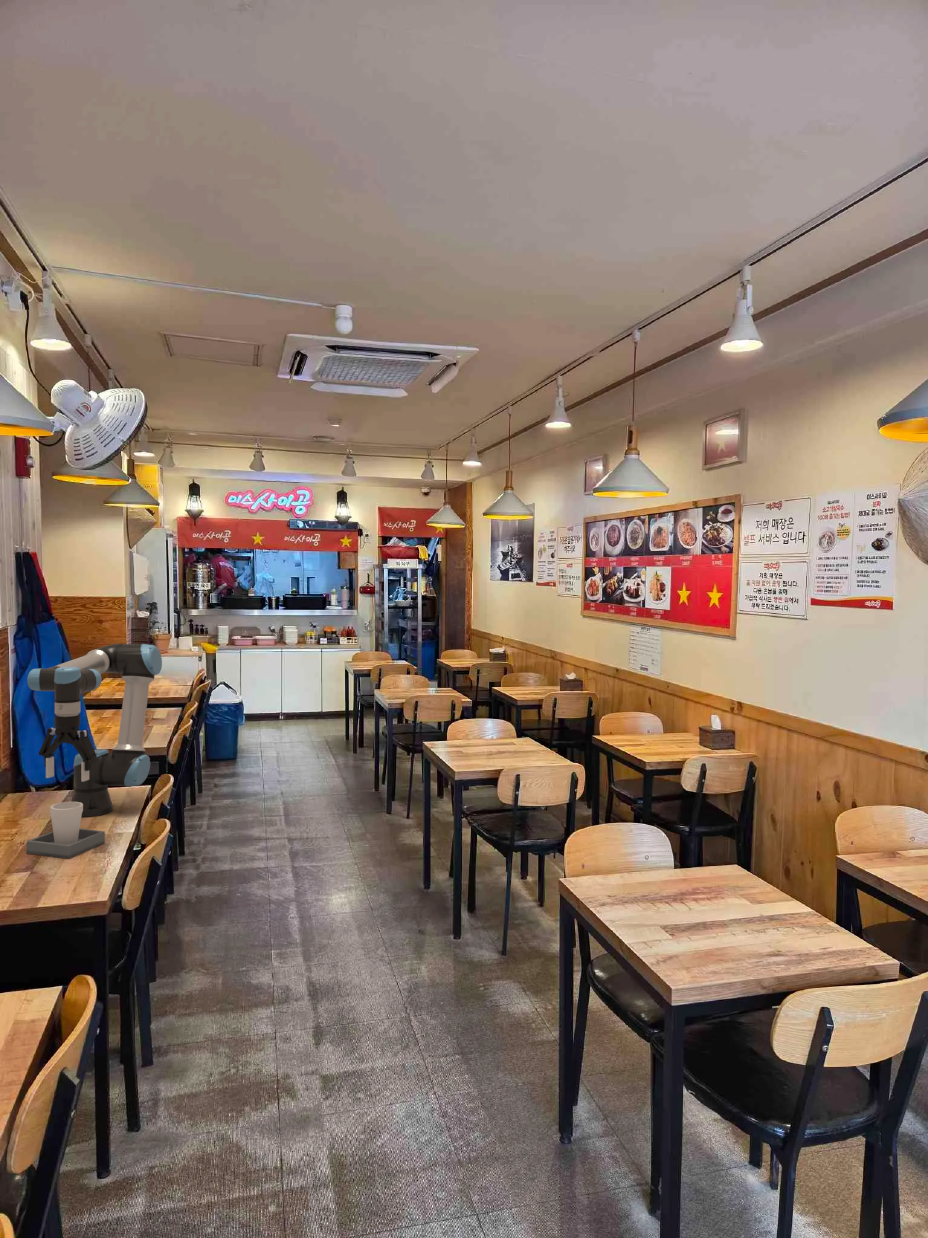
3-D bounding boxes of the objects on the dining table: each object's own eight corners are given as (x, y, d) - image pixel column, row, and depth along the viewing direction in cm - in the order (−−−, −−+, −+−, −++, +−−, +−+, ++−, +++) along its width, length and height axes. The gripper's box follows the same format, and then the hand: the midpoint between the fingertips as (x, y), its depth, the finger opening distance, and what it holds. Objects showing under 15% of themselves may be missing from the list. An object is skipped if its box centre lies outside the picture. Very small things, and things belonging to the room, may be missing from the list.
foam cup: (88, 843, 250) (89, 804, 250) (63, 851, 242) (63, 811, 241) (68, 839, 254) (69, 800, 254) (43, 846, 245) (43, 807, 245)
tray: (64, 838, 257) (64, 826, 257) (104, 843, 253) (104, 831, 253) (26, 853, 242) (26, 841, 242) (68, 859, 238) (68, 846, 238)
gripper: (26, 713, 247) (26, 778, 248) (92, 719, 241) (92, 785, 242) (44, 710, 254) (44, 773, 255) (108, 715, 249) (108, 779, 250)
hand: (67, 779), depth 249 cm, fingers open, 13 cm apart
